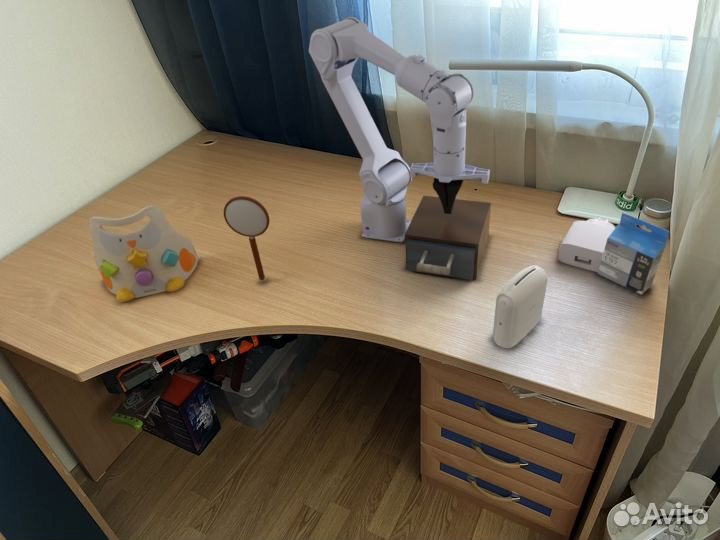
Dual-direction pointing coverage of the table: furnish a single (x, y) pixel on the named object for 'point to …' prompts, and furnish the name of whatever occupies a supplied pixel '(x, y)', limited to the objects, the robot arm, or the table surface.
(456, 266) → the drawer
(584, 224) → the charger
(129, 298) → the shape sorter
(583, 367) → the table surface
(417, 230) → the cabinet
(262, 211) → the magnifying glass
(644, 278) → the label tape box
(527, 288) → the photo printer
